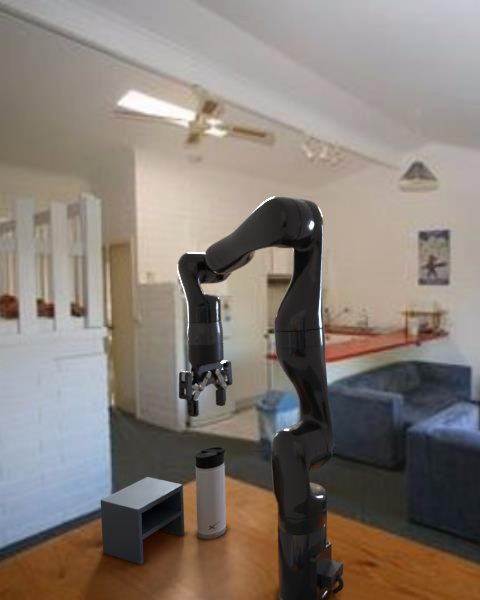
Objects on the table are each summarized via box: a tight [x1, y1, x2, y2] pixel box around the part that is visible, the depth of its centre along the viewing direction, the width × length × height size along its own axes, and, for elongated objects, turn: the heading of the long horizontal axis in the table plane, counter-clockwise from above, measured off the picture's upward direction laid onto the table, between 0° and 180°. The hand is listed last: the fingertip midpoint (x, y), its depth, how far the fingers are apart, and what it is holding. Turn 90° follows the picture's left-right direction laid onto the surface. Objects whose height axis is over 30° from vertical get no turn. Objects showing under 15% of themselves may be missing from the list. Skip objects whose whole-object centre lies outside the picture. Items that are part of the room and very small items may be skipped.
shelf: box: [99, 476, 186, 565], centre depth 107 cm, size 11×12×12 cm
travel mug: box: [194, 446, 227, 540], centre depth 111 cm, size 6×7×20 cm
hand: (207, 410), depth 110 cm, fingers open, 8 cm apart
